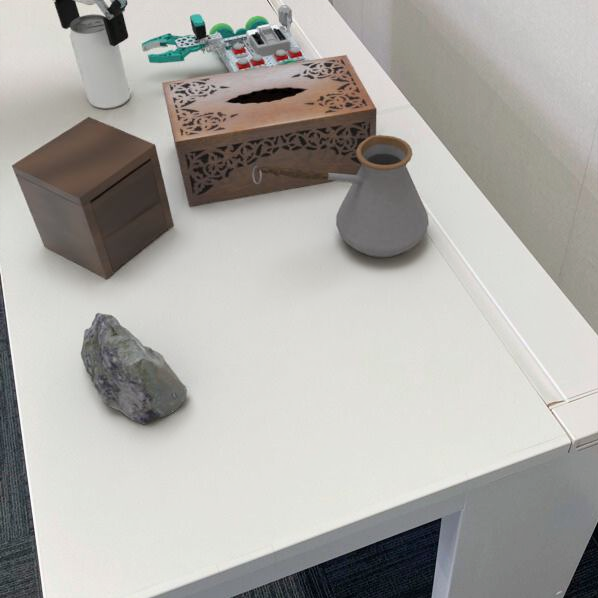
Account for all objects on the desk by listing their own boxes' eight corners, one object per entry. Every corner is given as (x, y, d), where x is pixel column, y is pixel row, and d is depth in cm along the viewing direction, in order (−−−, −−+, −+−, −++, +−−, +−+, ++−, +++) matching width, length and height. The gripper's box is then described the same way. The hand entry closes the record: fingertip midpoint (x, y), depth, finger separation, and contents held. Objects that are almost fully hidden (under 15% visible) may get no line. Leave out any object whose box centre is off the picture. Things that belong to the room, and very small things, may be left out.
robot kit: (140, 62, 127) (128, 6, 120) (283, 33, 133) (279, -23, 126) (168, 120, 116) (156, 62, 109) (323, 85, 122) (321, 27, 115)
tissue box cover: (347, 117, 116) (346, 54, 108) (375, 173, 107) (376, 108, 99) (175, 146, 111) (161, 82, 104) (189, 206, 102) (175, 141, 95)
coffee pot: (403, 200, 103) (408, 98, 91) (442, 253, 96) (454, 150, 84) (250, 241, 97) (236, 139, 86) (280, 301, 90) (269, 198, 79)
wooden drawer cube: (44, 246, 97) (11, 165, 88) (112, 196, 104) (88, 116, 94) (106, 279, 93) (79, 198, 84) (174, 225, 100) (155, 144, 90)
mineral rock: (86, 344, 86) (60, 278, 79) (183, 329, 88) (166, 263, 80) (84, 437, 78) (54, 374, 70) (191, 419, 79) (173, 355, 72)
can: (83, 94, 121) (61, 19, 112) (124, 83, 123) (105, 9, 114) (94, 114, 117) (72, 38, 108) (136, 103, 119) (118, 27, 110)
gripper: (-9, -98, 100) (34, 29, 113) (85, -72, 94) (120, 60, 107) (35, -117, 104) (72, 8, 117) (128, -92, 98) (157, 37, 111)
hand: (95, 33), depth 112 cm, fingers open, 9 cm apart
